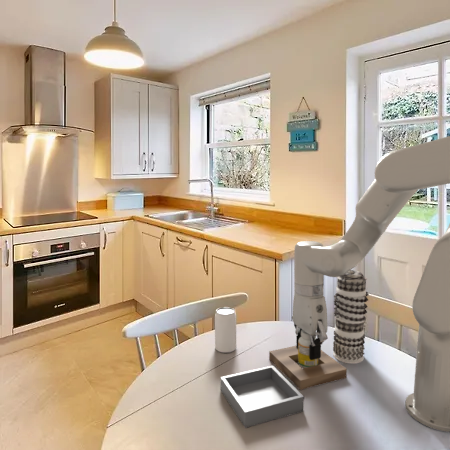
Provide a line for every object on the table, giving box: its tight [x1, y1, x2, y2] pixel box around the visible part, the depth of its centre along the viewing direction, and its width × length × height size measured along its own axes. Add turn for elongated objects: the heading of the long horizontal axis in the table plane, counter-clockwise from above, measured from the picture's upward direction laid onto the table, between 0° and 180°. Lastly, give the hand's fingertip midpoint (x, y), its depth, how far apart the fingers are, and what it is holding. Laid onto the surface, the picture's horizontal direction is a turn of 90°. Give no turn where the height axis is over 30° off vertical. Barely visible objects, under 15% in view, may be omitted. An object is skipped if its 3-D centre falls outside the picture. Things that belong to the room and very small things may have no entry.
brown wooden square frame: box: [268, 345, 348, 391], centre depth 102 cm, size 16×14×2 cm
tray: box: [220, 364, 305, 429], centre depth 88 cm, size 14×14×4 cm
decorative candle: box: [332, 269, 369, 364], centre depth 107 cm, size 9×9×25 cm
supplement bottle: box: [297, 330, 318, 369], centre depth 101 cm, size 5×5×10 cm
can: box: [214, 306, 237, 354], centre depth 113 cm, size 6×6×12 cm
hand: (308, 352), depth 101 cm, fingers closed on supplement bottle, 5 cm apart
